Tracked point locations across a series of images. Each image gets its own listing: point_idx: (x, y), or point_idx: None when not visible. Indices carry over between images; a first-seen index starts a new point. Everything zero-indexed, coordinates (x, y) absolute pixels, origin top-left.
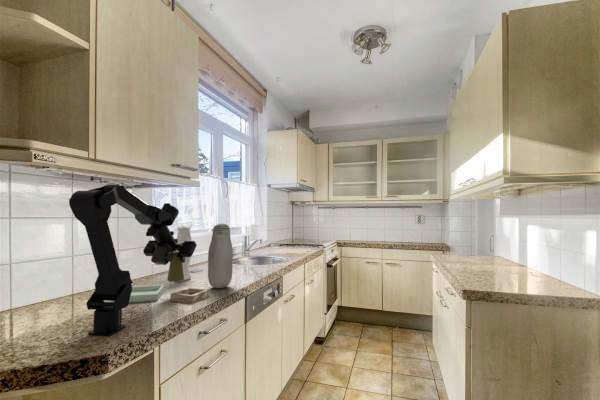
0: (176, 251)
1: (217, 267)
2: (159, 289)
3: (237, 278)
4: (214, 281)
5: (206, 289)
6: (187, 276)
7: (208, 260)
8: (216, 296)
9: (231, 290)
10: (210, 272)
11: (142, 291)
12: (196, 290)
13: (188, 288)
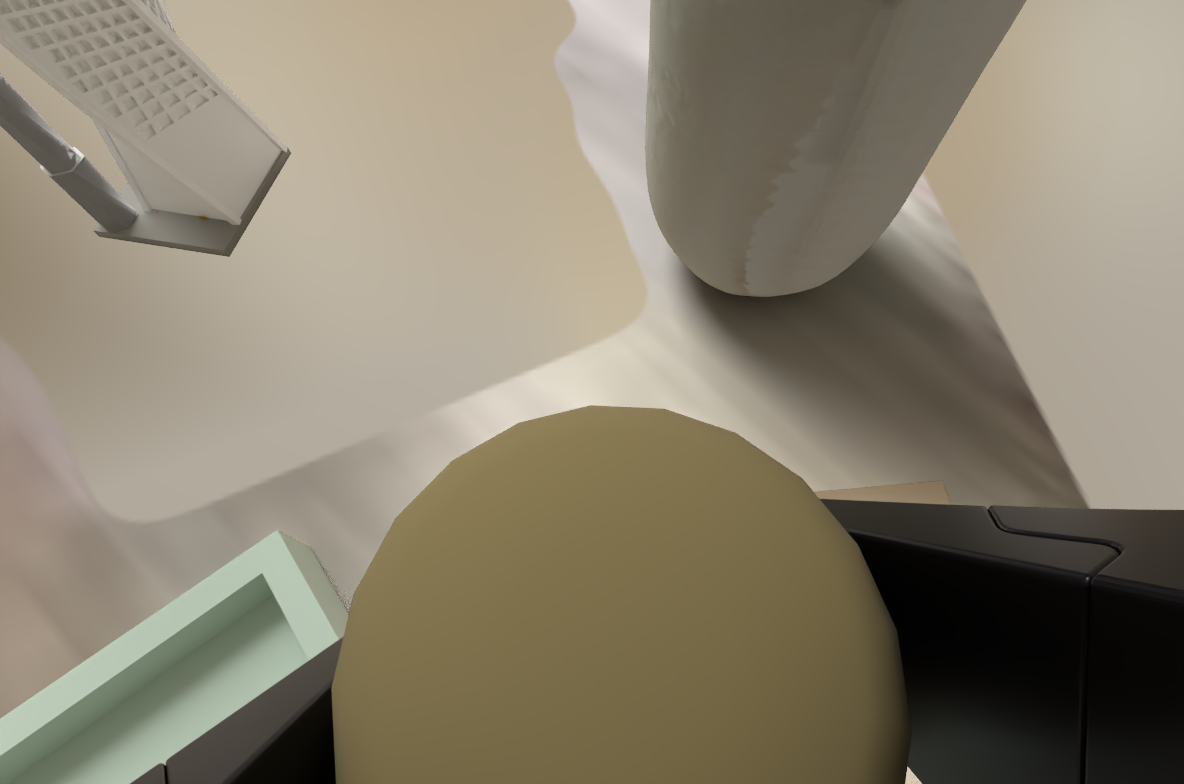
0: (731, 773)
1: (901, 144)
2: None
3: (643, 6)
4: (800, 276)
5: (911, 491)
6: (253, 150)
7: (736, 59)
8: (984, 482)
9: (915, 271)
10: (763, 210)
11: (99, 747)
12: None
13: None
